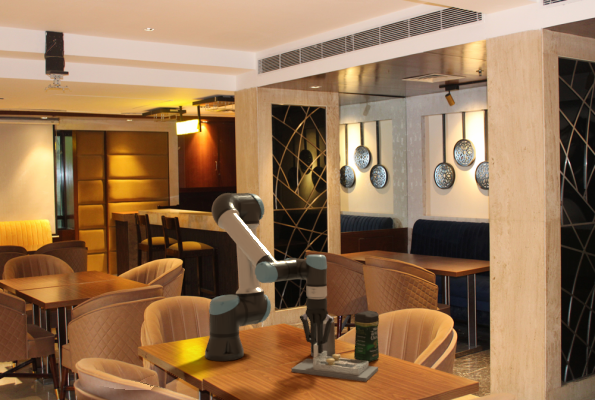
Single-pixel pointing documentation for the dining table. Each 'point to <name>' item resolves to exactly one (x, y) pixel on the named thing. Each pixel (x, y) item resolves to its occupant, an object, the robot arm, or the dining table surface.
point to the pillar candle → (330, 344)
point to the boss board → (307, 368)
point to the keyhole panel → (339, 365)
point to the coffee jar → (366, 336)
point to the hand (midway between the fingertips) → (317, 361)
